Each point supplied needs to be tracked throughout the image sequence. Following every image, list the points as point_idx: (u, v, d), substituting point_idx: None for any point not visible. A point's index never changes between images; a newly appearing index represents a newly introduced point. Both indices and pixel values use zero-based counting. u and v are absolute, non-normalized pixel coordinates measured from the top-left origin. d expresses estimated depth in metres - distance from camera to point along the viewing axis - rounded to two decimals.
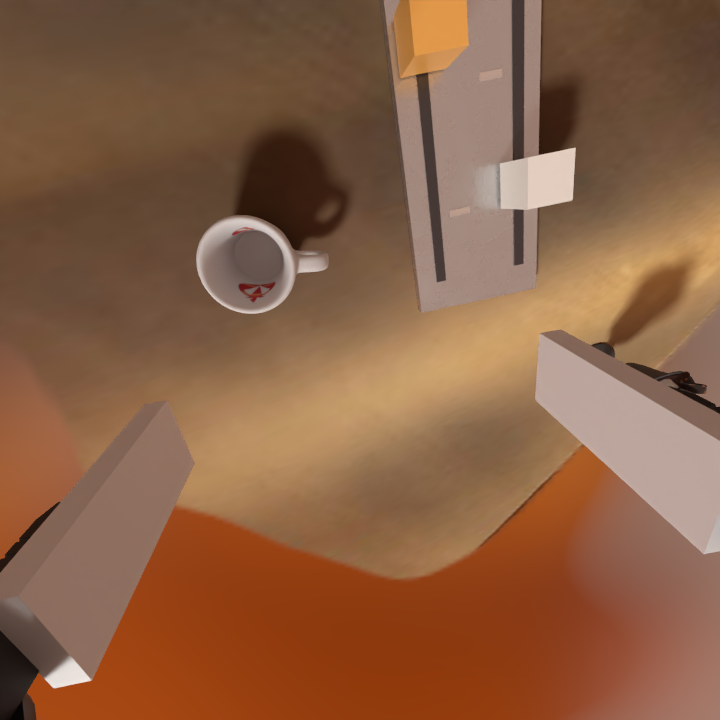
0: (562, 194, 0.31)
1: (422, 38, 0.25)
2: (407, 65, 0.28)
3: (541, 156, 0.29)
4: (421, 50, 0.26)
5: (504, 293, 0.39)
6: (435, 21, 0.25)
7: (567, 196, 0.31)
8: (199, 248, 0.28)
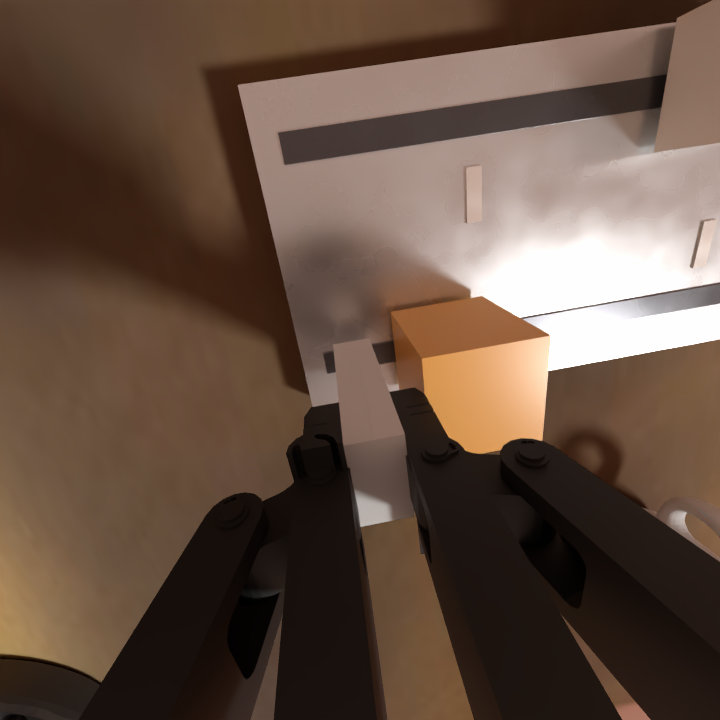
0: None
1: (518, 430, 0.12)
2: None
3: None
4: (536, 429, 0.12)
5: None
6: (496, 408, 0.12)
7: None
8: None
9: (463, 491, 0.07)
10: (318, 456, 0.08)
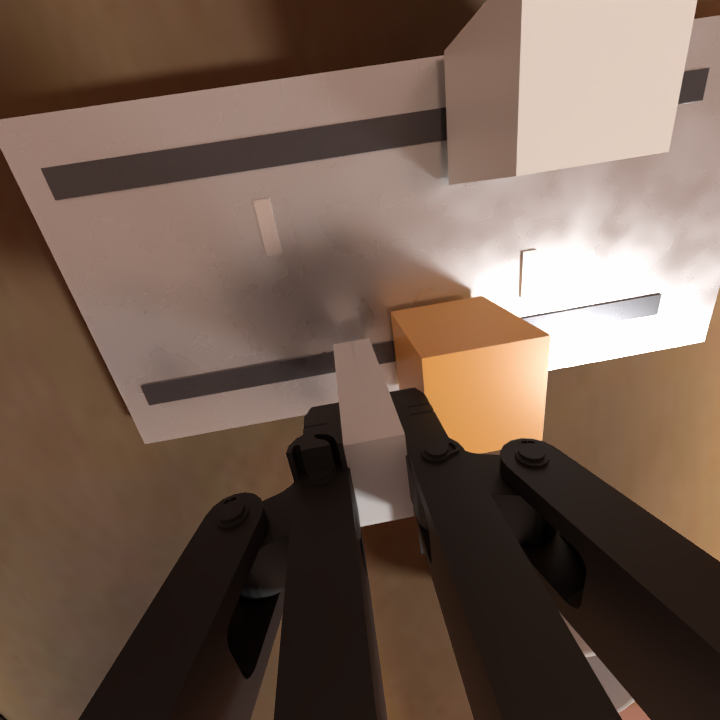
0: None
1: (517, 430, 0.12)
2: None
3: (523, 122, 0.08)
4: (536, 429, 0.12)
5: None
6: (496, 408, 0.12)
7: None
8: None
9: (463, 491, 0.07)
10: (318, 456, 0.08)
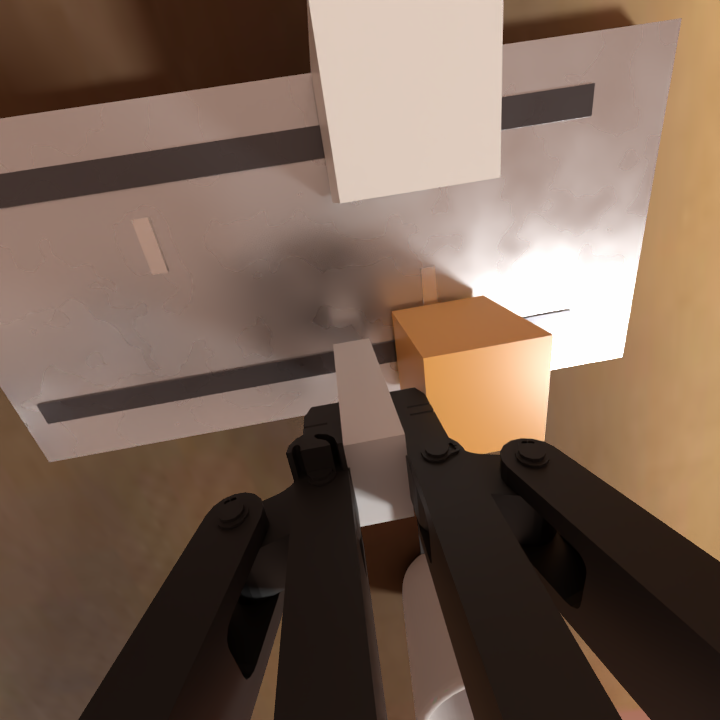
0: (473, 19, 0.08)
1: (520, 430, 0.12)
2: None
3: (337, 149, 0.08)
4: (538, 429, 0.12)
5: (656, 138, 0.14)
6: (498, 408, 0.12)
7: None
8: None
9: (463, 491, 0.07)
10: (318, 456, 0.08)
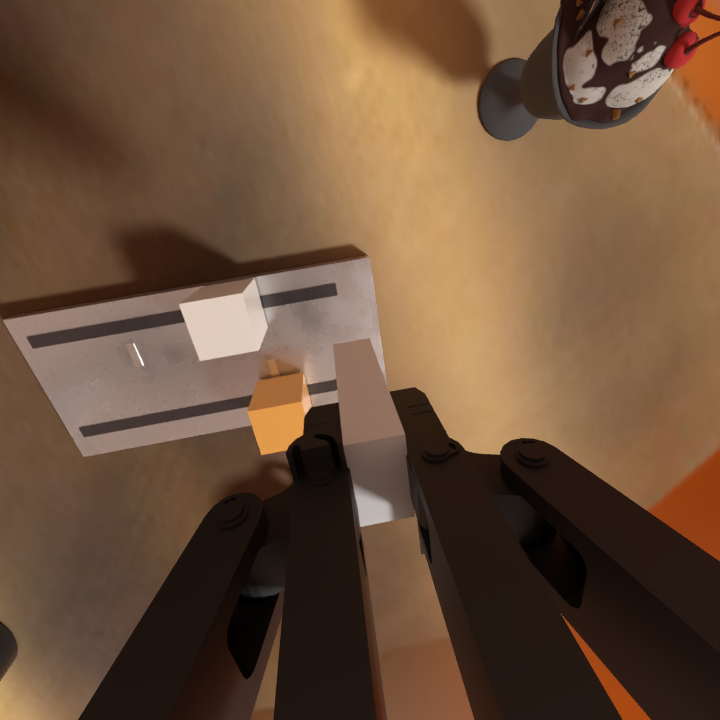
0: (236, 308, 0.23)
1: None
2: None
3: (196, 345, 0.24)
4: None
5: (374, 302, 0.29)
6: (286, 431, 0.27)
7: (238, 301, 0.23)
8: None
9: (463, 491, 0.07)
10: (318, 456, 0.08)
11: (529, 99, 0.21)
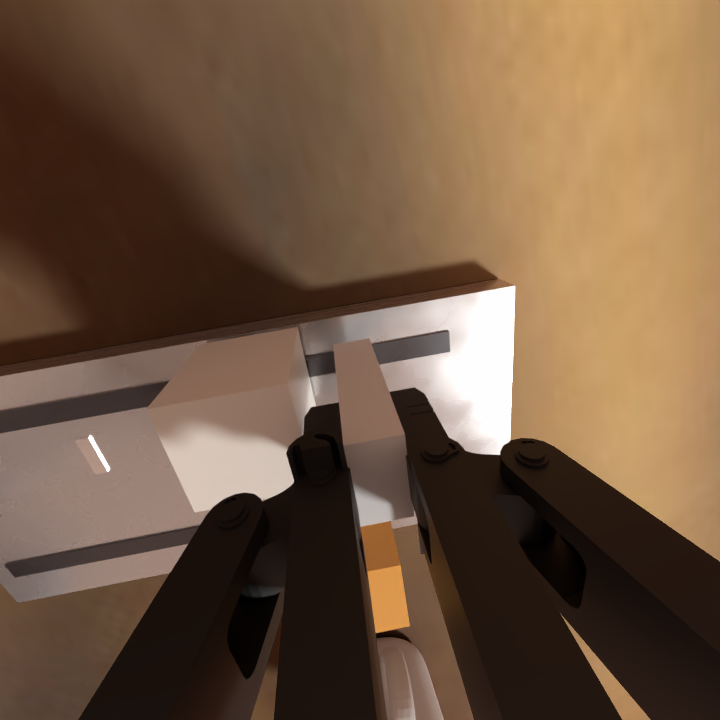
0: (273, 414, 0.10)
1: (387, 620, 0.15)
2: None
3: (186, 485, 0.11)
4: (402, 619, 0.15)
5: (509, 361, 0.17)
6: None
7: (278, 401, 0.10)
8: None
9: (463, 491, 0.07)
10: (318, 456, 0.08)
11: None
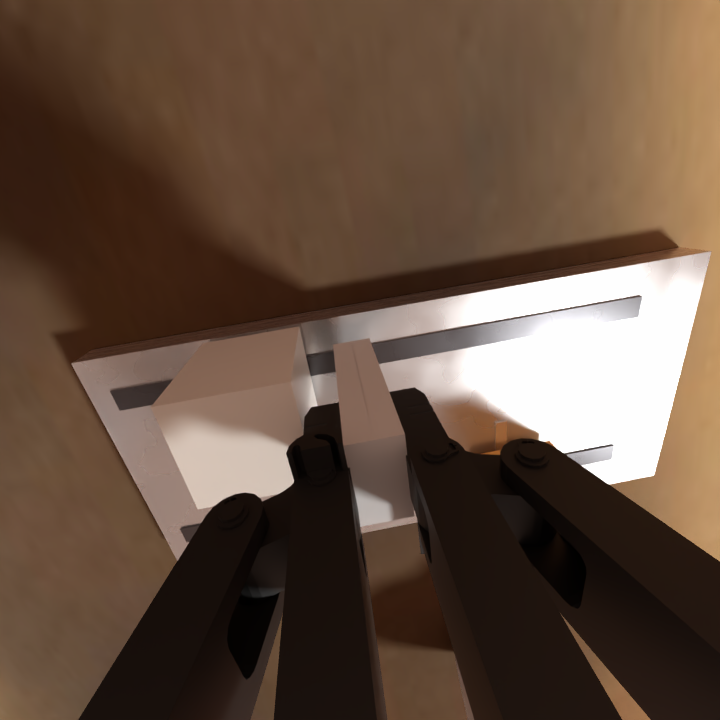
0: (276, 412, 0.11)
1: None
2: None
3: (189, 483, 0.11)
4: None
5: (688, 327, 0.17)
6: None
7: (281, 398, 0.10)
8: None
9: (463, 491, 0.07)
10: (318, 456, 0.08)
11: None
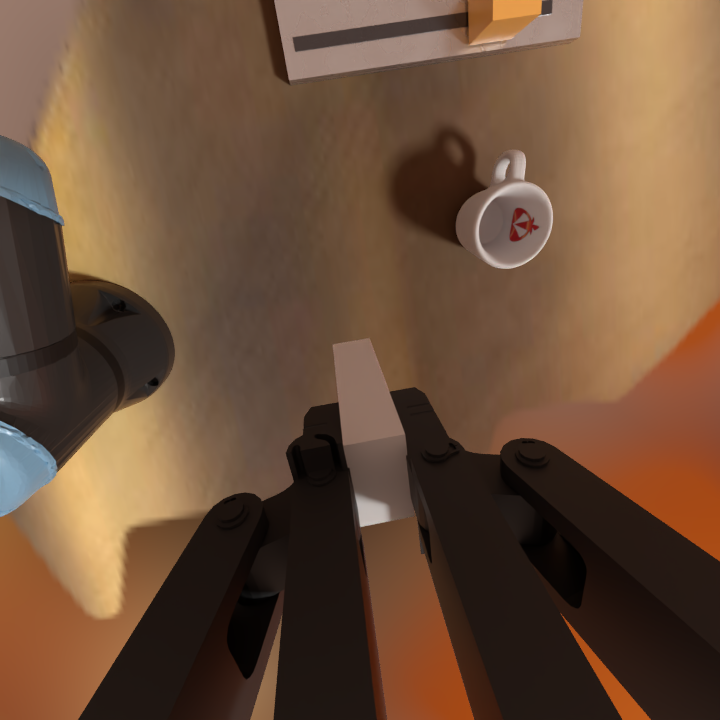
0: None
1: (530, 4, 0.28)
2: (526, 25, 0.31)
3: None
4: (538, 4, 0.28)
5: None
6: None
7: None
8: (491, 263, 0.36)
9: (463, 491, 0.07)
10: (318, 456, 0.08)
11: None
